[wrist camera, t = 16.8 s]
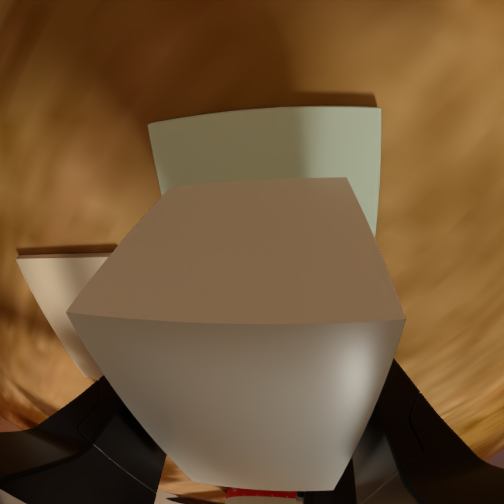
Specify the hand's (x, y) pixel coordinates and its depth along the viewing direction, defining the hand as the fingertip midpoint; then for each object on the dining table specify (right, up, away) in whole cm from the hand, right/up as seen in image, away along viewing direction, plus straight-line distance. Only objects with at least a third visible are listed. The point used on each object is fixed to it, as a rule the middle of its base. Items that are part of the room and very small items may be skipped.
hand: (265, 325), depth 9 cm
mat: (0, +2, +4) cm, 4 cm away
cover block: (0, +1, +1) cm, 1 cm away
